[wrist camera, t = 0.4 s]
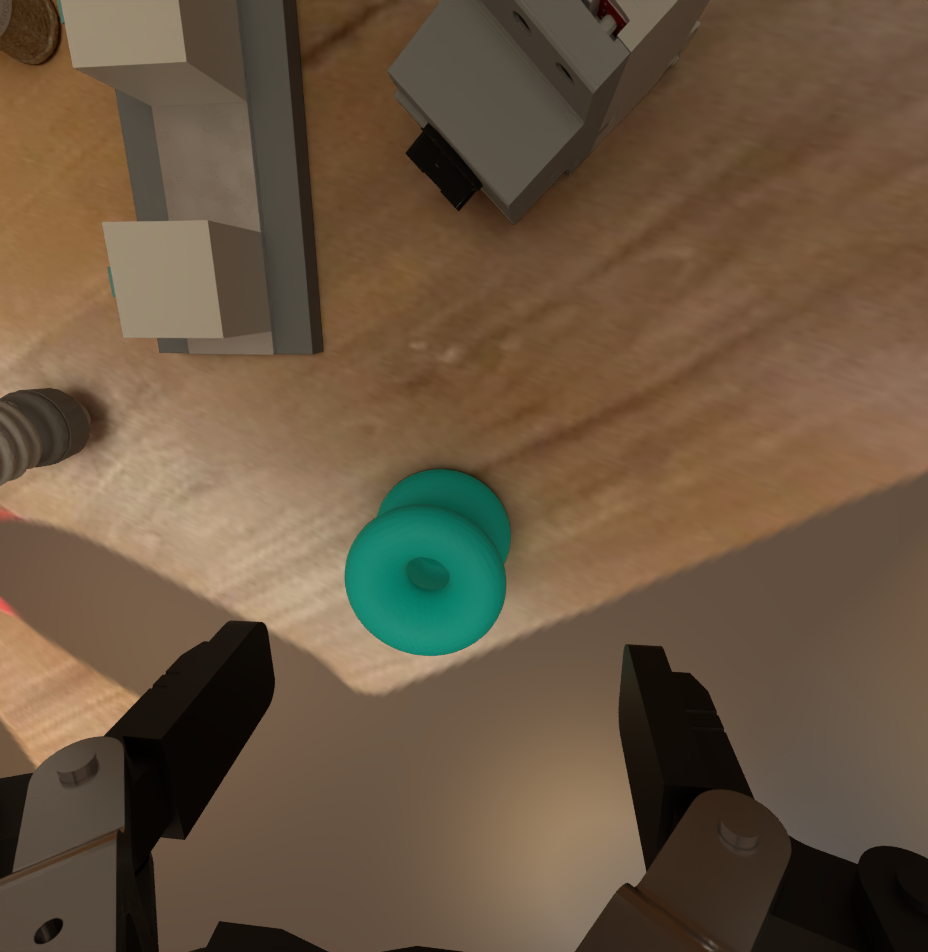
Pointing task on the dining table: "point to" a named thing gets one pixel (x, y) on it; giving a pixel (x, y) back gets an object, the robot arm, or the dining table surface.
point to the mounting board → (278, 170)
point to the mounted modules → (173, 242)
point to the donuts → (431, 564)
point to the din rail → (215, 184)
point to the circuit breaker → (529, 87)
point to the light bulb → (39, 430)
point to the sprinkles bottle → (28, 29)
